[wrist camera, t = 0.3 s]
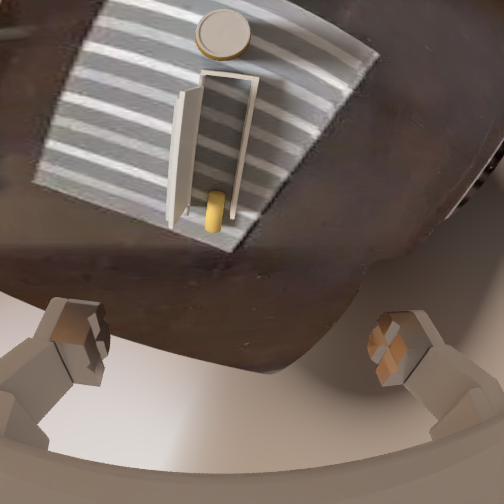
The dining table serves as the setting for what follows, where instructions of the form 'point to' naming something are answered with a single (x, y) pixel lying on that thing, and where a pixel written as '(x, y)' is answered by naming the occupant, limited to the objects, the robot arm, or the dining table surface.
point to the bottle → (222, 34)
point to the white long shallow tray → (244, 135)
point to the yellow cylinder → (214, 211)
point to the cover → (181, 153)
